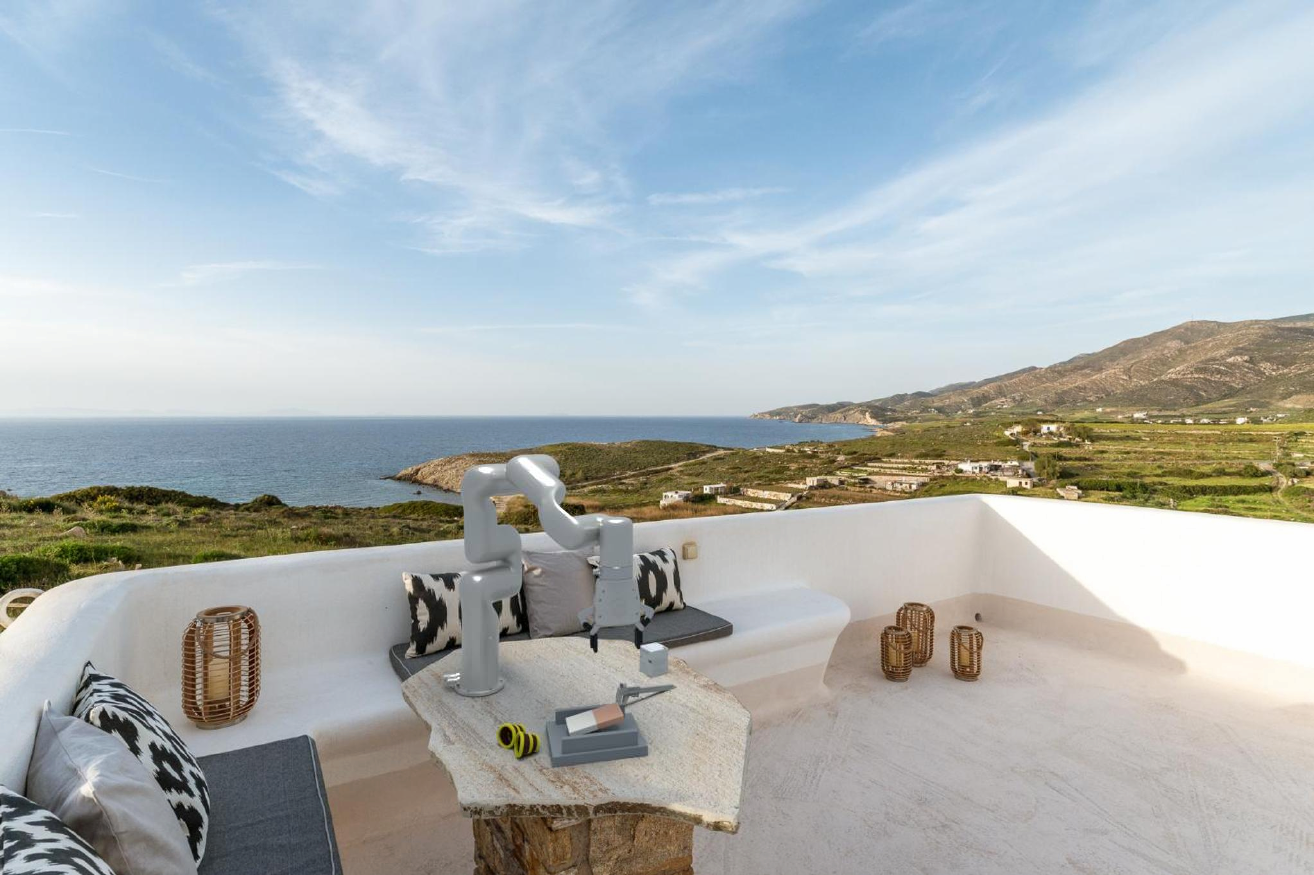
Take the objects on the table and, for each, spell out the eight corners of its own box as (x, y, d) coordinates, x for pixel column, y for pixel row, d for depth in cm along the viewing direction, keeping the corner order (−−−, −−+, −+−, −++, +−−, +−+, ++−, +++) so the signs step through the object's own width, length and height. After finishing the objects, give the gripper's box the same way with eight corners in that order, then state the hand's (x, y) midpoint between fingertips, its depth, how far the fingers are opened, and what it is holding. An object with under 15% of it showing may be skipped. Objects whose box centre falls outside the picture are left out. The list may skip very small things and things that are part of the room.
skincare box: (638, 671, 176) (639, 645, 176) (655, 666, 180) (656, 641, 180) (651, 678, 172) (651, 651, 172) (668, 673, 175) (668, 647, 175)
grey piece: (552, 767, 125) (553, 742, 125) (545, 730, 140) (546, 708, 140) (647, 755, 130) (648, 731, 130) (631, 721, 145) (631, 700, 145)
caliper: (618, 710, 151) (618, 685, 151) (615, 709, 152) (615, 684, 152) (676, 688, 165) (677, 665, 165) (673, 687, 166) (674, 664, 166)
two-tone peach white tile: (570, 738, 130) (569, 733, 130) (566, 723, 137) (565, 718, 137) (624, 720, 133) (623, 715, 133) (618, 706, 140) (617, 701, 140)
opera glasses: (539, 758, 130) (544, 733, 131) (518, 762, 126) (523, 736, 127) (515, 741, 137) (519, 718, 138) (494, 744, 133) (498, 720, 134)
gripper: (579, 578, 131) (579, 658, 131) (657, 574, 136) (658, 651, 135) (575, 571, 139) (575, 647, 138) (649, 567, 143) (650, 640, 143)
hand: (616, 649), depth 137 cm, fingers open, 9 cm apart
